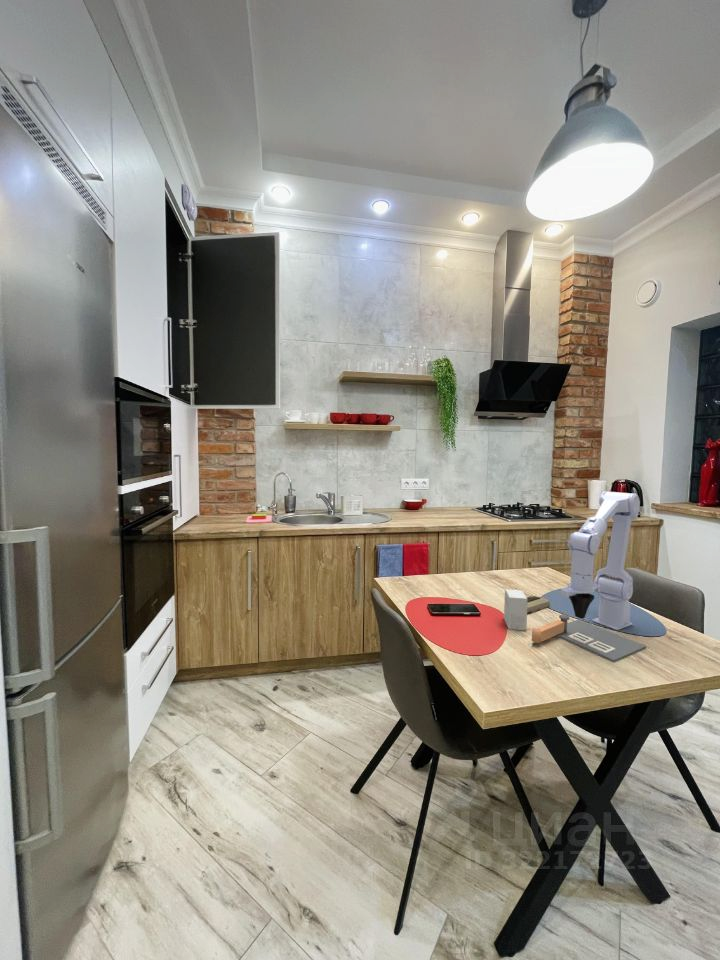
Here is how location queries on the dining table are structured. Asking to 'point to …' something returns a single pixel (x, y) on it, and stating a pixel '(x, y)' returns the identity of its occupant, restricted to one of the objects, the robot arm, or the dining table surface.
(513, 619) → the small box
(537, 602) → the brown flat block
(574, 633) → the board
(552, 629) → the swing bar
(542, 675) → the dining table surface
